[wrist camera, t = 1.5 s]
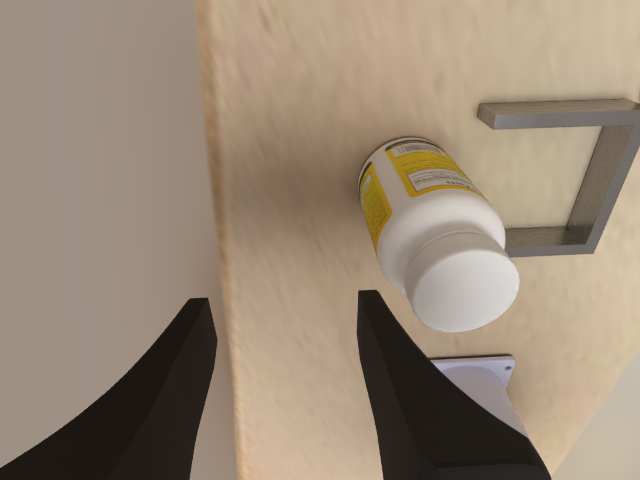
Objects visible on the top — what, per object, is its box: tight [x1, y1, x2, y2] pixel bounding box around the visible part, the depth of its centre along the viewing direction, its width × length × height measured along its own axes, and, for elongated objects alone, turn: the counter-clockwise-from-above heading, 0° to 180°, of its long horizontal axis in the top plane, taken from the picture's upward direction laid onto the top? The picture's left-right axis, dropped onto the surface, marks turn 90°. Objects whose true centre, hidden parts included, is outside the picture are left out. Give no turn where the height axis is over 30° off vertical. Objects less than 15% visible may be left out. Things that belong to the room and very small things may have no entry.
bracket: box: [477, 99, 640, 257], centre depth 22 cm, size 8×8×2 cm
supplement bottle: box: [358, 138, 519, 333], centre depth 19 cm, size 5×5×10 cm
